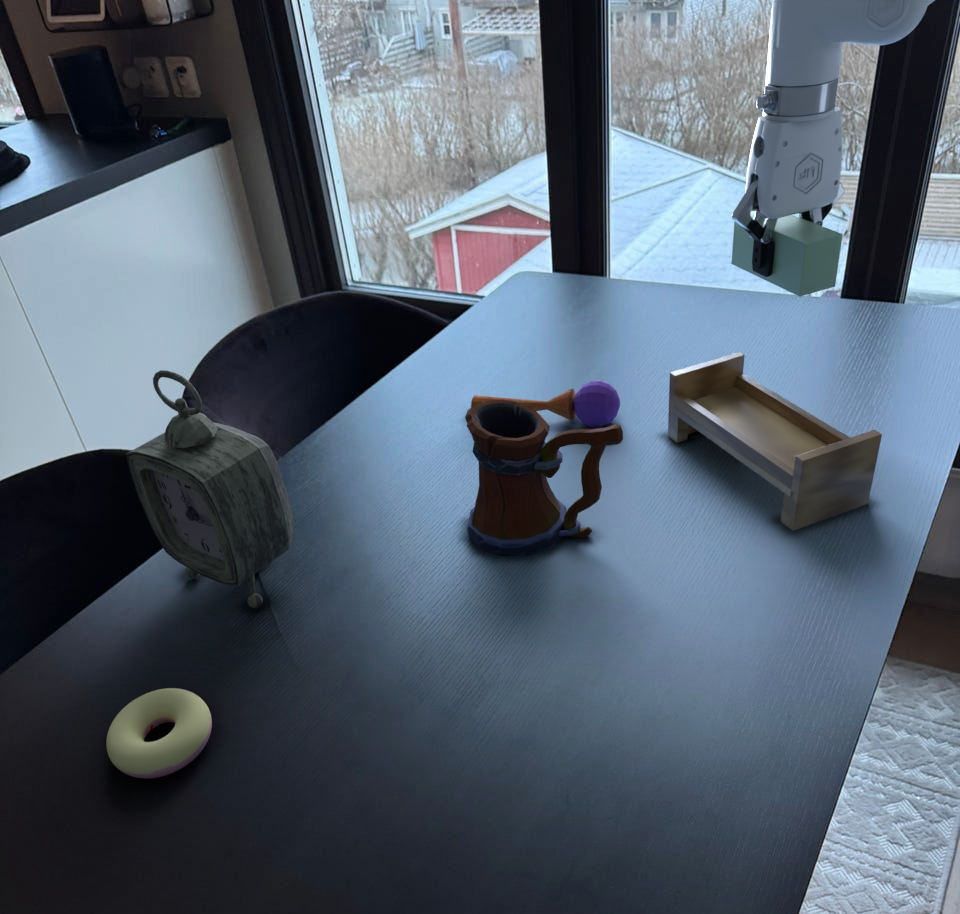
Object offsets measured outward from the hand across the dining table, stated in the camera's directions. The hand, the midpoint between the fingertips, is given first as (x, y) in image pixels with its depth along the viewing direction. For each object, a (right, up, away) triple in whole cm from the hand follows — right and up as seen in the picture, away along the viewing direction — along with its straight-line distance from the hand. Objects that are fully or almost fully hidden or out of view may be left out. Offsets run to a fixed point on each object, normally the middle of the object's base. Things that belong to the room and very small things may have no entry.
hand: (782, 266), depth 112 cm
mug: (-30, -34, -8) cm, 46 cm away
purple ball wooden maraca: (-28, -16, +13) cm, 35 cm away
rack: (-3, -25, -2) cm, 26 cm away
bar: (0, -1, +1) cm, 1 cm away
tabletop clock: (-64, -39, -8) cm, 75 cm away
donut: (-66, -55, -27) cm, 90 cm away
